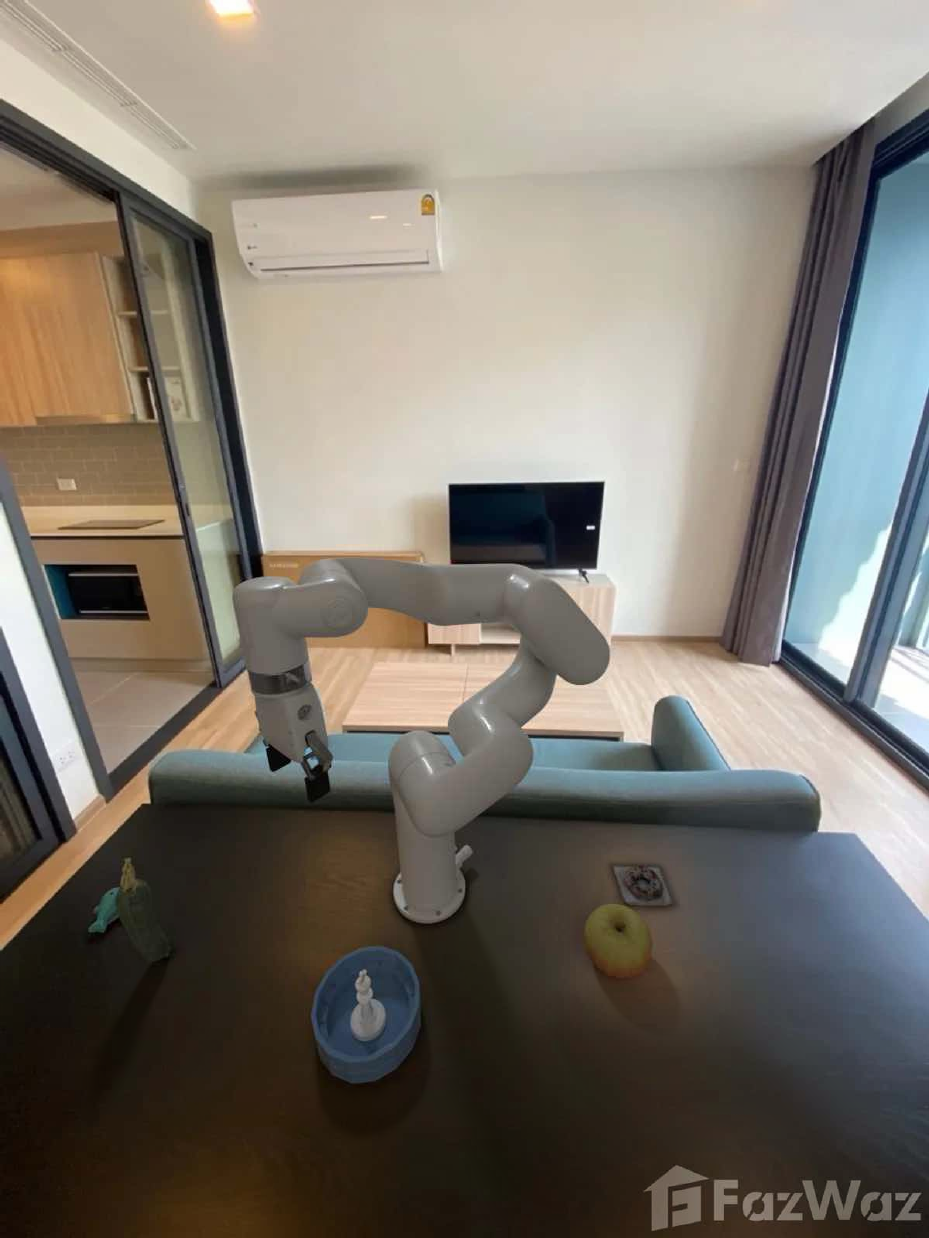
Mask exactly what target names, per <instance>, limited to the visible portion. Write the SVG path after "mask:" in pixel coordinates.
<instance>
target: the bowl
mask: <svg viewBox="0 0 929 1238" xmlns="http://www.w3.org/2000/svg"><path fill="white" fill-rule="evenodd" d="M363 970H367V973H366V976H368V977H369V978H370V980H371V984H370V988H371V989H372V991H373V996H372V998H371V999H375V1000H378V1001H379V1002H381V1003H382V1005H383V1006H384V1008H385V1011H386V1024H385V1027H384V1029H383V1031H382V1032H381V1033H380V1034H379V1035H378V1036H377V1037H376V1038H374V1039H373V1040H370V1041H360V1040H358V1039H356V1038H355V1037H354V1036H353V1034H352V1032H351V1028H350V1020H351V1015H352V1013H353V1011H354V1009H355V1007H356V1006H357V1005H358V1004H359V1002H358V1001H357V992H358V991H357V989H356V987H355V983H356V980H357V979H358V978H359V973H360V971H363ZM316 988H317V989H316V990H315V993H314V996H313V1001H312V1006H311V1007H312V1008H311V1013H310V1019H311V1025H312V1028H313V1034H314V1039H315V1043H316V1047H317V1053H318V1057H319V1060H320V1061H321V1062H322V1064H323V1065H324V1066H325V1067H326V1069H327V1070H328V1071H329V1073H330V1074H331V1076H333V1077H336V1078H338V1079H340V1080H343V1081H346V1082H348V1083H350V1084H363V1083H373V1082H377V1081H379V1080H380V1079H381V1078H384V1077H385V1076H387V1075H389V1074H390V1073H392V1072H393V1071H395V1070H396V1069H398V1068H399V1066H400V1065H401V1064H402V1063H403V1062H404V1060H405V1059H406V1058H407V1056H408V1055H409V1054H410V1053H411V1051H412V1050H413V1049H414V1047H415V1043H416V1040H417V1038H418V1035H419V1032H420V1029H421V1026H422V999H421V987H420V981H419V978H418V976H417V973H416V971H415V969H414V966H413V964H412V963H411V962H410V961H409V960H408V959H407V958H406V957H405V956H404V955H403V954H402V953H401V952H400V951H397V950H395V949H392V948H388V947H385V946H383V945H377V946H365V947H361V948H359V949H356V950H353V951H352V952H350V953H347V954H346V955H343V956H342V957H341V958H340V959H339V960H338V961H336V962H335V963H334V964H333V965H332V966H331V967H330V968H329V969H328V970H327V971H326V972H325V974H324V976H323V978H322V980H321V981H320V983H319V985H318V986H317V987H316Z"/></svg>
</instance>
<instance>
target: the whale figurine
mask: <svg viewBox="0 0 929 1238" xmlns="http://www.w3.org/2000/svg"><path fill="white" fill-rule="evenodd" d="M120 887H121V886H117V887H114V888H111V889H109V890H108V891H106V892H105V893H104V895H103V896H102V897H101V899H100V902H99V904H98V905H96V907H94V909H93V914H94V915H97V916H96V920H95V921H94V922H93V923H92V924H90V926H89V927H88V930H87V931H88V933H96V932H98V933H105V932H106V931H107V928H108V926H109V925H111V923H114V921H116V920H117V919H118V918H119V915H118V912H117V909H116V904H115V898H116V895H117V892H118V890H119V888H120Z"/></svg>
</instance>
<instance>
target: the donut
mask: <svg viewBox="0 0 929 1238" xmlns="http://www.w3.org/2000/svg"><path fill="white" fill-rule="evenodd" d="M612 869H613V872H614V875H615V878H616V881H617V885H618V888H619V891H620V894H621V898H622V900H623V902H625V903H626V905H628V906H641V907H643V906H647V907H649V906H652V907H660V906H661V907H666V906H669V905H673V901H672V899H671V898H672V897H671V896H670V893H669V891H668V888H667V886H666V883H665V880H664V878H663V875H662V872H661V870H660V868H659V867H658V866H657V867H656V866H655V867H652V866H645V865H644V864H642V863H641V864H639V865H636V866H623V865H622V866H620V865H619V866H617V865H616V866H615V865H612Z"/></svg>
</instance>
